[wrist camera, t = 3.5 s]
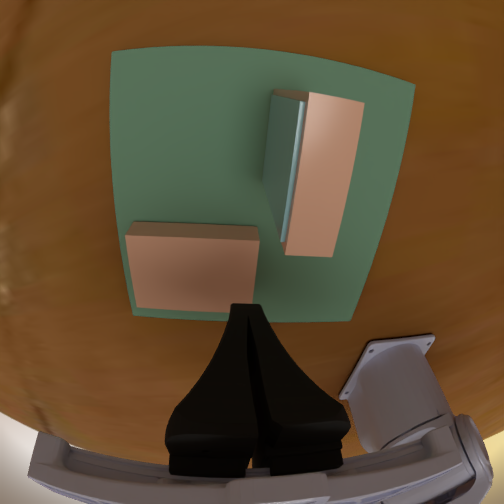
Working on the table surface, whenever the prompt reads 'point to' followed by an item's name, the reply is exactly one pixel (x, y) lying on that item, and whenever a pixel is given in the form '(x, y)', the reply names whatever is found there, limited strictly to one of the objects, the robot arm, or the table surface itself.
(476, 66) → the table surface
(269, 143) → the tile
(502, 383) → the table surface
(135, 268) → the tile
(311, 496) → the robot arm
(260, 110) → the felt mat
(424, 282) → the table surface
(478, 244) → the table surface
